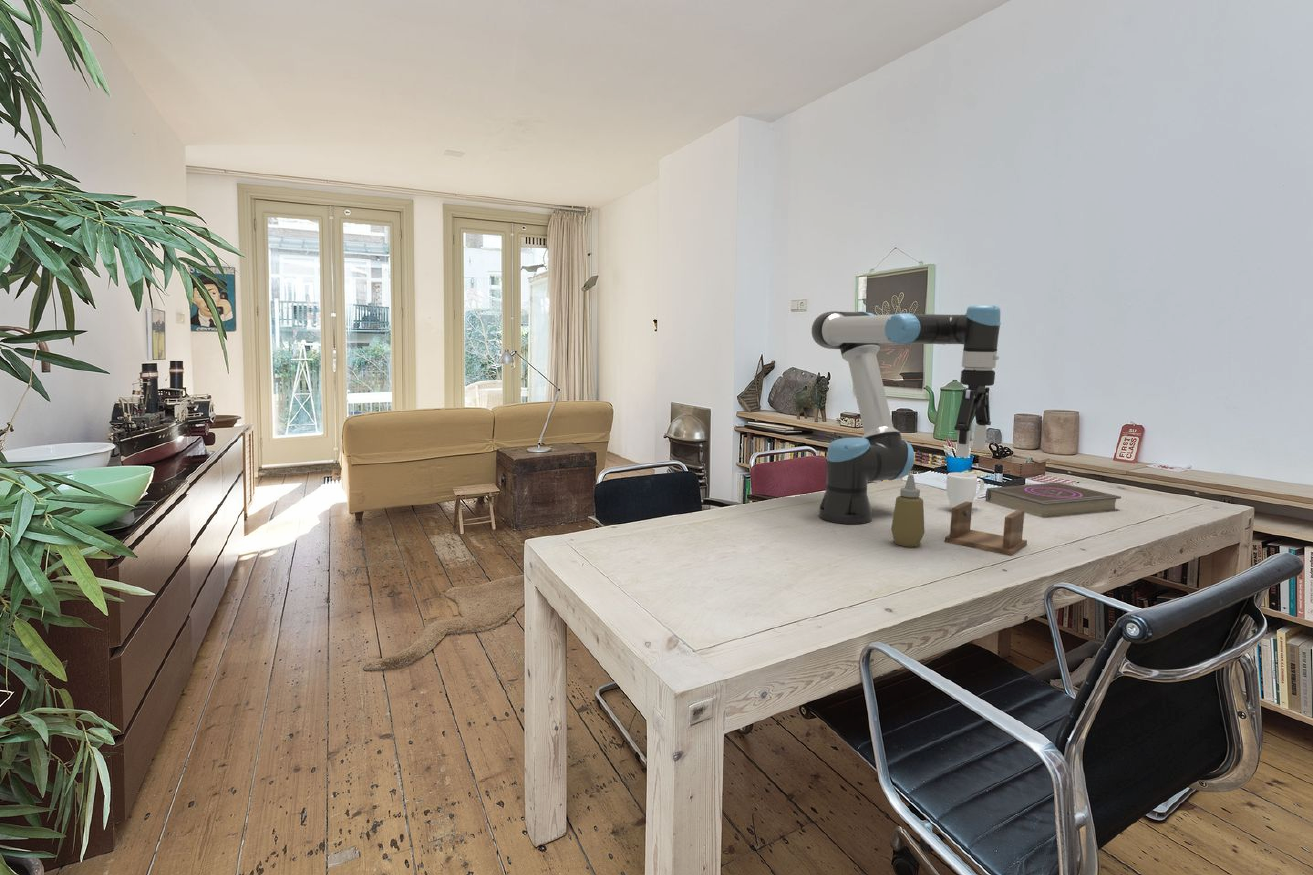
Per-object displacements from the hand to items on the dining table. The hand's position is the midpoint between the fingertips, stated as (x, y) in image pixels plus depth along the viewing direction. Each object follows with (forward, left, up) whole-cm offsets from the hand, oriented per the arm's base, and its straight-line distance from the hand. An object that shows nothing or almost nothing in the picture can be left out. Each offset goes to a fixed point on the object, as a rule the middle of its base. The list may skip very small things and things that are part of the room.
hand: (970, 453), depth 161 cm
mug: (-12, +35, -24) cm, 44 cm away
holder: (+4, +4, -24) cm, 24 cm away
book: (+5, +62, -24) cm, 66 cm away
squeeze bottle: (-10, -11, -24) cm, 28 cm away
